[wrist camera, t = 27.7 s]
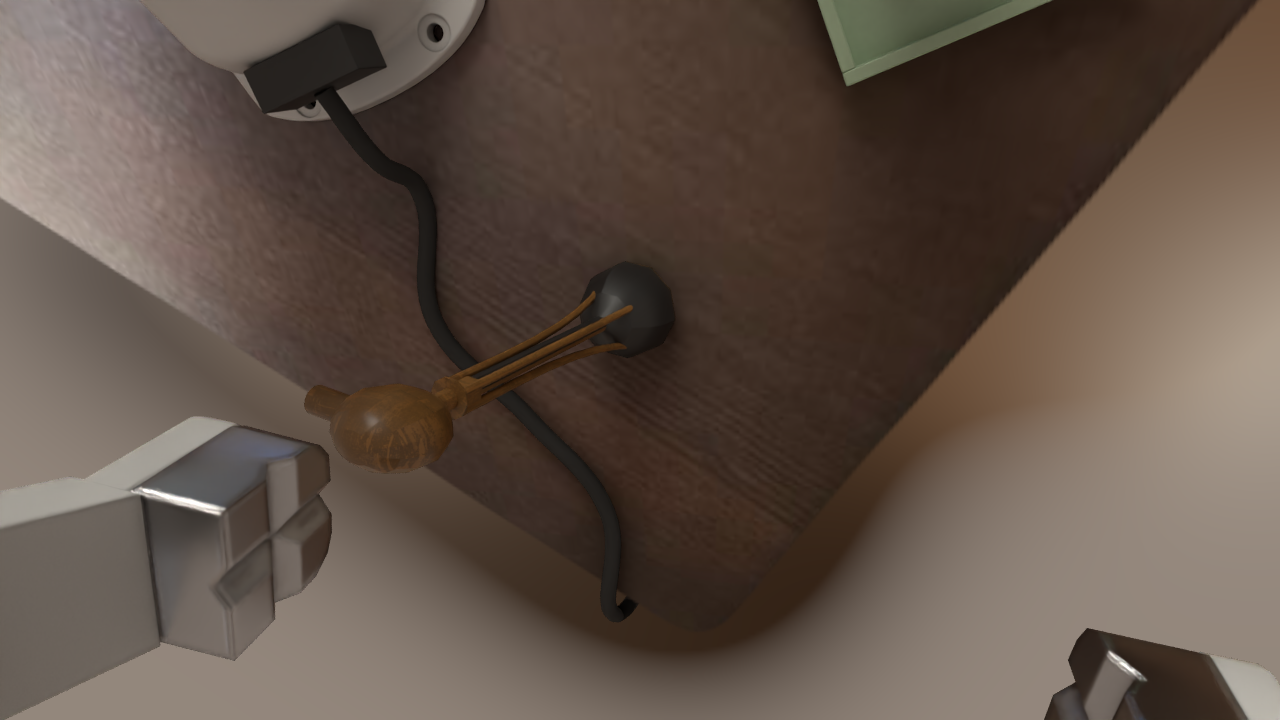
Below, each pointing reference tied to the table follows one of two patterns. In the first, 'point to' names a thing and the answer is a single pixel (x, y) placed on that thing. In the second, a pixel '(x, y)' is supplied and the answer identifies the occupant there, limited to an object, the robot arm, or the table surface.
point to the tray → (905, 29)
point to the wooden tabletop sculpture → (492, 375)
